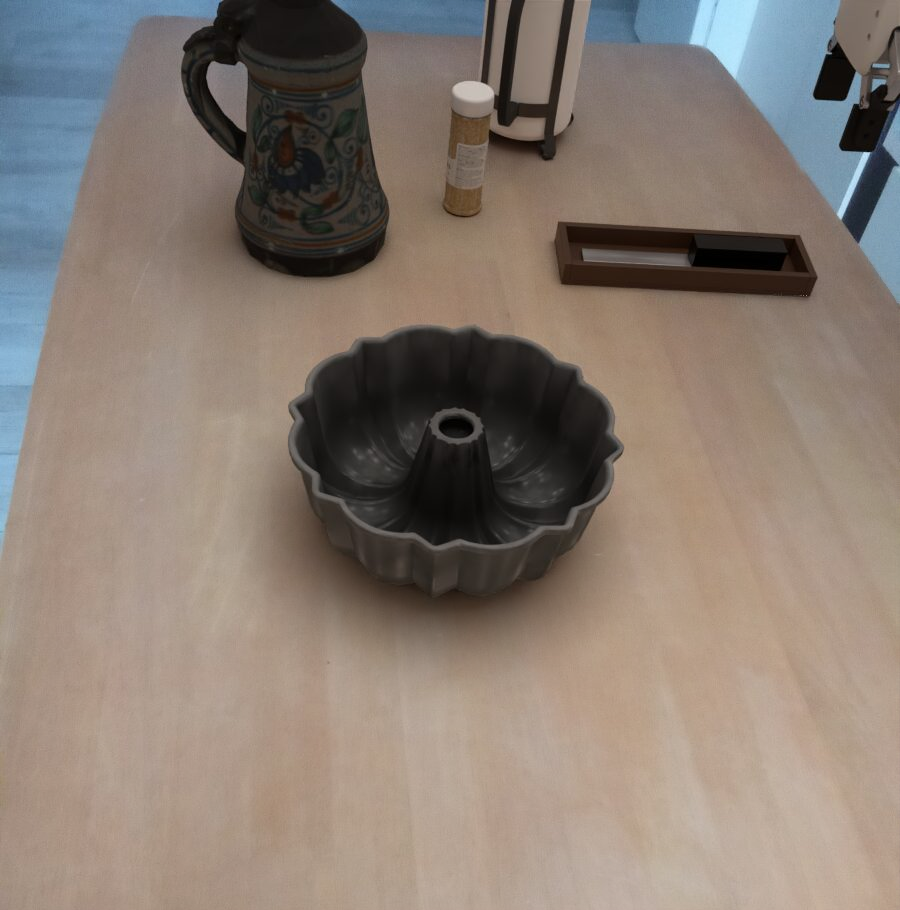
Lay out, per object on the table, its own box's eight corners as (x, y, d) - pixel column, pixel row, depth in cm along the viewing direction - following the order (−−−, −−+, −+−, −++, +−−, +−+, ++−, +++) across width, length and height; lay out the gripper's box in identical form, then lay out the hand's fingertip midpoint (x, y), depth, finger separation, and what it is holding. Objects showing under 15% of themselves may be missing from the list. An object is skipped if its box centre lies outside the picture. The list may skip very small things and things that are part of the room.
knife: (773, 262, 114) (782, 238, 112) (778, 276, 113) (787, 252, 110) (580, 252, 113) (585, 227, 110) (582, 266, 111) (587, 241, 109)
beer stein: (412, 262, 110) (426, 15, 90) (238, 298, 104) (212, 41, 84) (354, 184, 119) (355, -57, 99) (191, 213, 112) (157, -38, 93)
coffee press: (436, 111, 131) (455, -171, 107) (547, 97, 136) (588, -177, 112) (491, 181, 121) (525, -112, 98) (608, 163, 126) (667, -121, 103)
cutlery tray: (792, 254, 117) (800, 234, 115) (809, 296, 112) (818, 277, 110) (554, 241, 115) (557, 221, 113) (561, 284, 110) (565, 263, 108)
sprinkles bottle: (444, 194, 119) (453, 76, 108) (483, 198, 119) (496, 81, 108) (441, 215, 116) (450, 97, 105) (480, 220, 116) (493, 102, 106)
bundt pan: (269, 426, 92) (261, 336, 85) (542, 393, 98) (559, 305, 90) (324, 661, 77) (321, 577, 69) (644, 604, 83) (675, 521, 75)
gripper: (1001, -45, 76) (908, 173, 89) (929, -122, 87) (856, 83, 100) (904, -51, 76) (825, 169, 89) (844, -127, 87) (781, 79, 100)
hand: (841, 123), depth 95 cm, fingers open, 9 cm apart
